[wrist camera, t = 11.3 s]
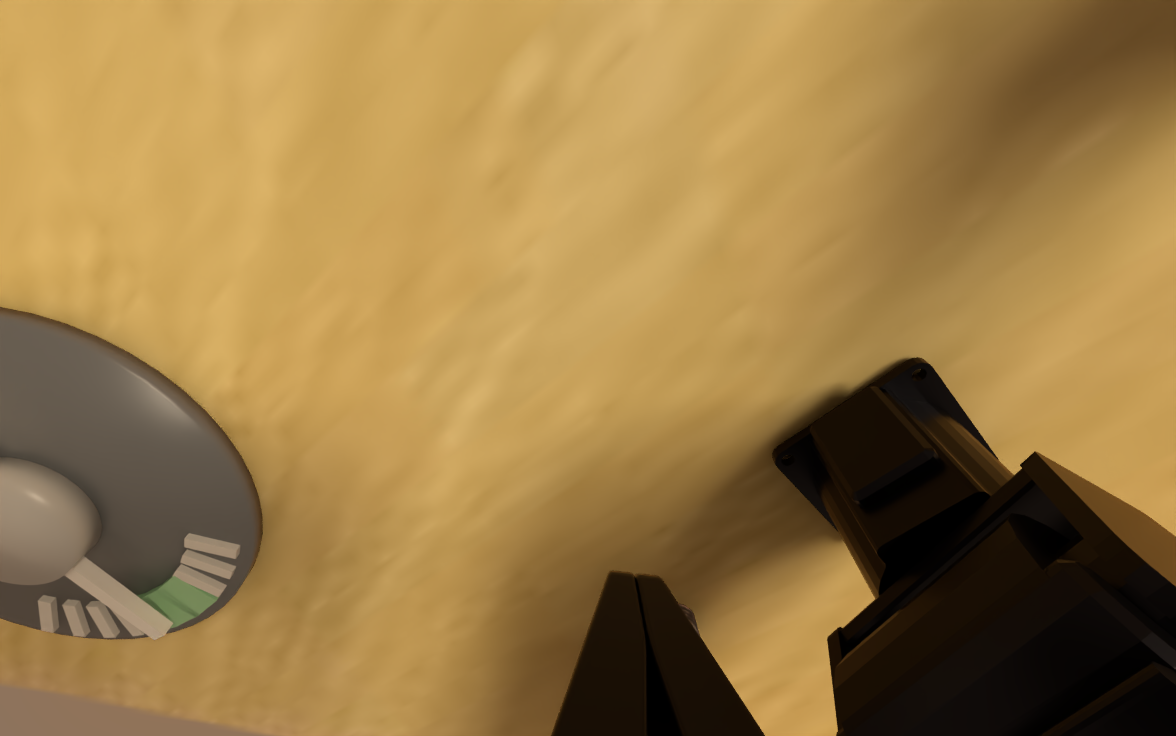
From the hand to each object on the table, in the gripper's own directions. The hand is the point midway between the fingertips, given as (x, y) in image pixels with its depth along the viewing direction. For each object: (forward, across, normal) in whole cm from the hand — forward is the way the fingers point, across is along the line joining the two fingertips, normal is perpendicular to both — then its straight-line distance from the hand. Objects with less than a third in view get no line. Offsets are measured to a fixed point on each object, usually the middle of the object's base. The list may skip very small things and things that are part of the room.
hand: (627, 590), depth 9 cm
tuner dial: (+12, +20, +11) cm, 26 cm away
